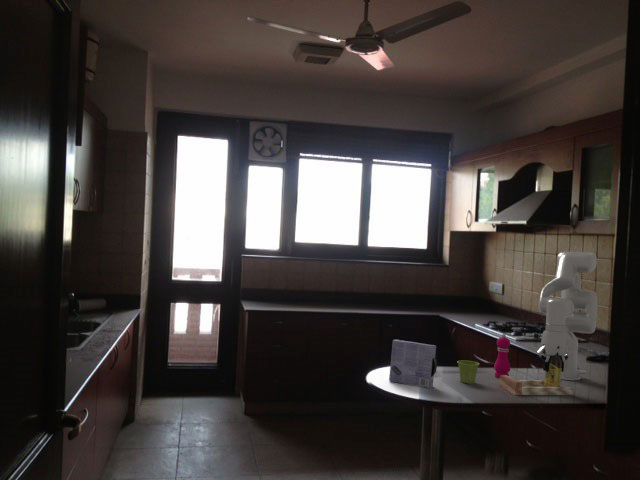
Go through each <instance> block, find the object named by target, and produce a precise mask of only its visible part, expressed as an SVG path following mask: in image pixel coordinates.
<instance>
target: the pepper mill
mask: <svg viewBox="0 0 640 480" xmlns="http://www.w3.org/2000/svg"><path fill="white" fill-rule="evenodd" d="M496 345H497V351H498V353H497V354H498V355H497V358H496V360H495V362H494V366H493V369H494V371H495V372H494V377H495V378H497V379H500V375H507V376H509V377H510V373H509V372H510V371H511V365H510V362H509V359H508V354H509V351H510V349H509V348H510V346H511V341H510V339H509V338H507V335H506V334H504V333H503V334H502V335H501V337H499V338H497V340H496Z"/></svg>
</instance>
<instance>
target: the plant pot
mask: <svg viewBox="0 0 640 480" xmlns="http://www.w3.org/2000/svg"><path fill="white" fill-rule="evenodd" d="M456 363H457V365H458V368H459V371H458V372H459V381H460V382H461V383H463V384H464V383H466V384H468V385H469V384H471V385H473V384H475V383H476V378H477V371H478V368H479V365H480V363H479V362H478V361H472V360H458V361H456Z"/></svg>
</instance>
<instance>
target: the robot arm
mask: <svg viewBox="0 0 640 480" xmlns="http://www.w3.org/2000/svg"><path fill="white" fill-rule="evenodd" d="M556 257H557V258H556V261H557V266H556V269H555V270H556V271H555V275H554V279H552V280H550V281H549V282H548V283H546V284H545V285H544V286H543V288H542V289H541V292H540V296H539V299H538V310H539V312H540V313H541V314H543V315H544V314H545V317H546V318H545V330H543V332H542V336H541V340H540V342H541V343H540V348H539V349H538V350H537V351H536V354H537V356H538V357H539V358H540V359H541V360H542V369H543V371H544V372H545V371H547V372H548V371H549V362H548V360H549V358H550V356H554V355H555V354H556V353H557V352H558V354H559V356H560V358H561V360H562V367H561V368H562V370H561V380H564V381H573V382H574V381H580V380H581V377H580V375H587V371H586V370H585V369H584V370H583V369H582V370H580V369H578V355H579V354H578V353H579V341H578V340H579V339H578V338H577V336H576V335H575V334H574V333H580V334H593V333H594V332H595V331H596V327H597V318H598V316H597V315H598V303H599V302H598V295H597V293H596V292H595V291H593V290H589V289H582V283H583V281H582V278H581V276H580V275H579V273H581V274H582V273H584V274H585V273H586V274H590V273H592V272H593V271H594V270H595V269H596V268H597V264H598V258H597V255H596V254H595V253H594V252H588V251H587V252H583V251H561V252H559V253H558V254H557V256H556ZM558 292H560V297H550V296H551V295H553V294H555V293H558ZM575 310H579V311H575ZM580 310H581V311H585V312H581V311H580ZM558 346H559V347H560V348H559V349H557V347H558Z"/></svg>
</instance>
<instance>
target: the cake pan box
mask: <svg viewBox="0 0 640 480" xmlns="http://www.w3.org/2000/svg"><path fill="white" fill-rule="evenodd" d="M391 346H392V347H391V356H390V368H389V378H388V380H389V382H392V383H398V384H404V385H407V386H415V387H421V388H426V389H431V388H433V387H432V386H434V378H435V375H436V372H437V369H438V368H437V367H438V362H437V359H436V354H437V353H436V352H437V345H434V344H426V343H421V342H420V343H419V342H416V341H415V342H414V341H406V340H400V339H393V340H392V344H391Z"/></svg>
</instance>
